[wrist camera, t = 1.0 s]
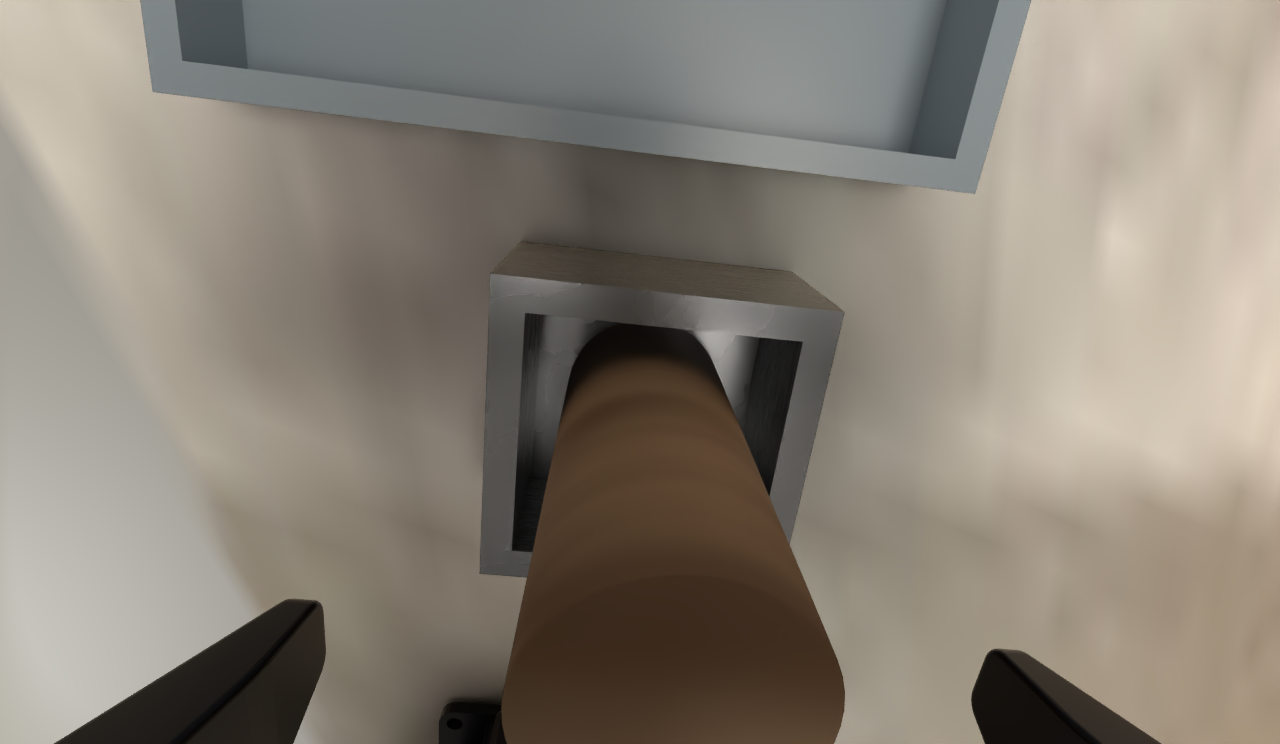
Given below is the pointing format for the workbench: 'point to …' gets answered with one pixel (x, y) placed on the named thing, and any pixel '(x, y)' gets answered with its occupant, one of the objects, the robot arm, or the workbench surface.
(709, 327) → the box
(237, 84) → the tray
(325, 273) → the workbench surface
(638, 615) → the dowel
